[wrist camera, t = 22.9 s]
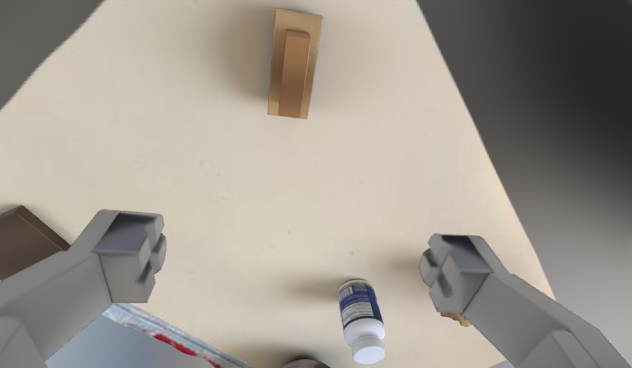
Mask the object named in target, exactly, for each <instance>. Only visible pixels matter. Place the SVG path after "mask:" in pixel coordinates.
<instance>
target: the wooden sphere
mask: <svg viewBox="0 0 632 368" xmlns="http://www.w3.org/2000/svg"><path fill="white" fill-rule="evenodd" d="M281 368H330V367H329V366H327V365H325V364H324V363H322V362H319V361H316V360H311V359H300V360H295V361H292V362H290V363H288V364H286V365H284V366H282V367H281Z"/></svg>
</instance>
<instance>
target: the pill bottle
mask: <svg viewBox="0 0 632 368" xmlns="http://www.w3.org/2000/svg"><path fill="white" fill-rule="evenodd" d="M337 295H338V302H339V308H340V314H341V320H342V326H343V333H344V338H345V340H346V342H347V343H348V344H349V345H350V346H352V354H353V358H354V360H355V361H356V362H357V363H359V364H364V365H367V364H373V363H376V362H379V361H380V360H382V359H383V358H384V356H385V349H384V344H383V342H382V340H383V338H384V336H385V328H384V324H383V321H382V317H381V313H380V310H379V306H378V303H377V299H376V296H375V292H374V289H373V287H372V285H371V284H370V283H369V282H367V281H365V280H360V279H357V280H351V281H348V282H346V283H344V284H343V285H341V287H340V288H339V290H338V293H337Z"/></svg>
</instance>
